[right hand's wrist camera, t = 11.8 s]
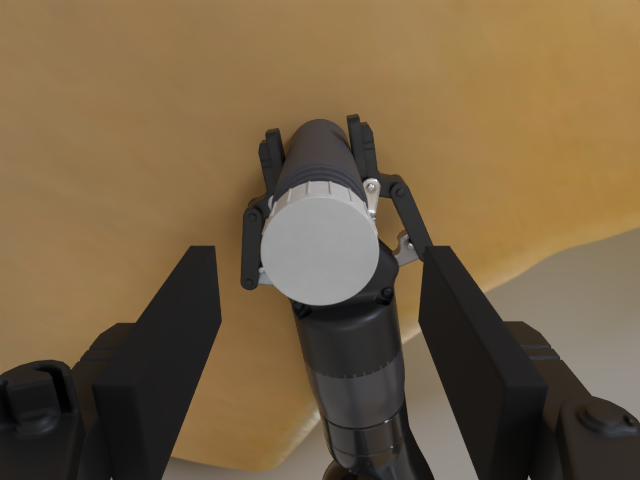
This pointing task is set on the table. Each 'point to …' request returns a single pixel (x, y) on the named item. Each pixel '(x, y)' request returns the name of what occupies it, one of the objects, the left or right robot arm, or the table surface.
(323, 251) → the cap
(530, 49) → the table surface
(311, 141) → the bottle
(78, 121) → the table surface
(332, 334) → the left robot arm
